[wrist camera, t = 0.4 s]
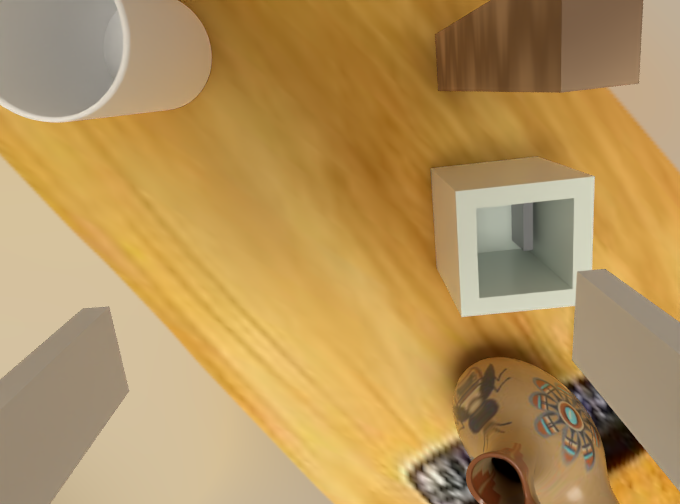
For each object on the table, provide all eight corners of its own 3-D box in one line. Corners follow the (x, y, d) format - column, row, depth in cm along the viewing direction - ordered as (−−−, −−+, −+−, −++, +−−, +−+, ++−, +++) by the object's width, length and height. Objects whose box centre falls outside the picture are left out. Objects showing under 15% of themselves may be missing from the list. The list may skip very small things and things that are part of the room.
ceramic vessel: (603, 397, 48) (861, 704, 24) (536, 464, 50) (710, 807, 26) (464, 297, 45) (596, 532, 21) (399, 373, 47) (453, 662, 23)
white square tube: (430, 168, 42) (455, 191, 32) (537, 156, 42) (594, 176, 32) (436, 267, 44) (461, 316, 35) (537, 257, 44) (590, 304, 34)
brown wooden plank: (435, 34, 39) (562, -45, 16) (469, 30, 39) (646, -55, 16) (438, 90, 40) (561, 92, 17) (471, 86, 40) (639, 83, 17)
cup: (220, 8, 39) (137, -44, 23) (203, 121, 41) (118, 140, 26) (108, -19, 38) (-51, -91, 23) (97, 96, 41) (-53, 100, 25)
